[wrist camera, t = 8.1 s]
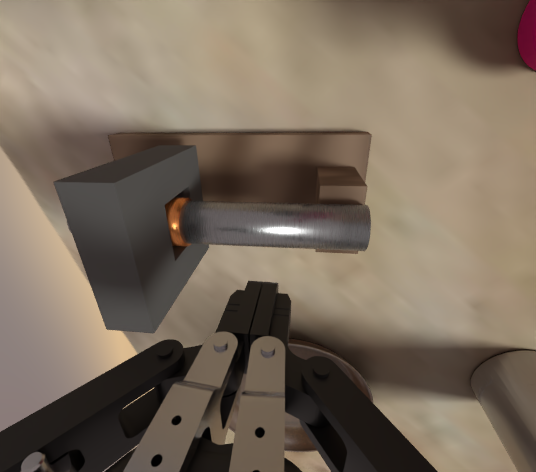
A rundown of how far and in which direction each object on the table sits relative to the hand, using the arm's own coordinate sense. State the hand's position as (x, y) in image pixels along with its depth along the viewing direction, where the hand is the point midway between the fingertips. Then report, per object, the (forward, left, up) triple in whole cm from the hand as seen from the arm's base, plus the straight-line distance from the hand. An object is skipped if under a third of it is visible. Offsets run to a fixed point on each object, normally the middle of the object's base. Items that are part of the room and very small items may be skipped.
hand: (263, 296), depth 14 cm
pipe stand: (+4, -1, -14) cm, 15 cm away
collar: (+8, -1, -11) cm, 13 cm away
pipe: (+4, -1, -8) cm, 9 cm away
